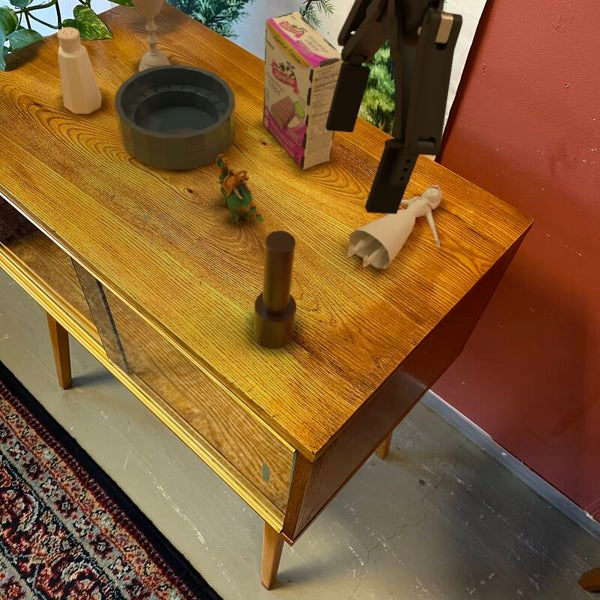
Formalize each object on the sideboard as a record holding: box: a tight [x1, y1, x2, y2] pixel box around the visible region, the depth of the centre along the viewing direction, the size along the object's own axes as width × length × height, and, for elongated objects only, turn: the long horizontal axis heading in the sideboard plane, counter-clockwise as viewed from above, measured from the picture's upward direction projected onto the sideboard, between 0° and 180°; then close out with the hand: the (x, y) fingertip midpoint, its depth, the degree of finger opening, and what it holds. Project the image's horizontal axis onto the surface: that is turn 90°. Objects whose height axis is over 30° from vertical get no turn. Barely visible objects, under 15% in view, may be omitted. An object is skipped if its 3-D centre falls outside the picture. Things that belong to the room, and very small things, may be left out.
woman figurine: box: [347, 184, 443, 270], centre depth 83 cm, size 12×4×18 cm
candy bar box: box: [262, 11, 344, 171], centre depth 87 cm, size 11×5×16 cm, turn 32°
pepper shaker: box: [56, 26, 103, 115], centre depth 91 cm, size 5×5×11 cm
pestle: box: [253, 230, 297, 350], centre depth 68 cm, size 4×4×15 cm
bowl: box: [113, 64, 236, 171], centre depth 90 cm, size 16×16×6 cm
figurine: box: [214, 154, 265, 225], centre depth 81 cm, size 3×12×8 cm, turn 31°
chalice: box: [130, 0, 172, 72], centre depth 94 cm, size 7×7×18 cm
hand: (358, 167), depth 61 cm, fingers open, 13 cm apart
